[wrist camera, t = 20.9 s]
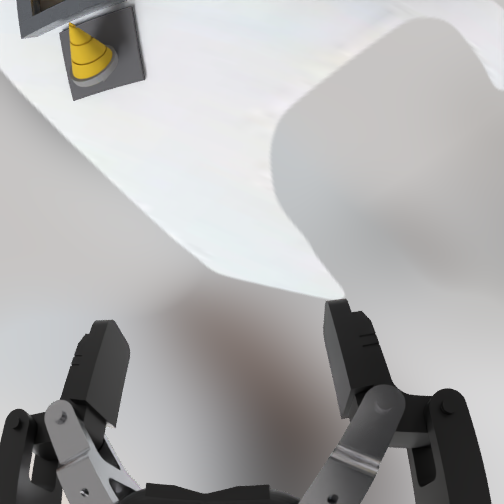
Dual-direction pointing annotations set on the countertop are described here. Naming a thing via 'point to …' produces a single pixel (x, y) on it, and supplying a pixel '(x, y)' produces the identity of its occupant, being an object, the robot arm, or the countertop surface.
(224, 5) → the countertop surface
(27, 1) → the grey open box
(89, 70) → the ridged yellow cone
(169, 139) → the countertop surface
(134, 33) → the rest mat
